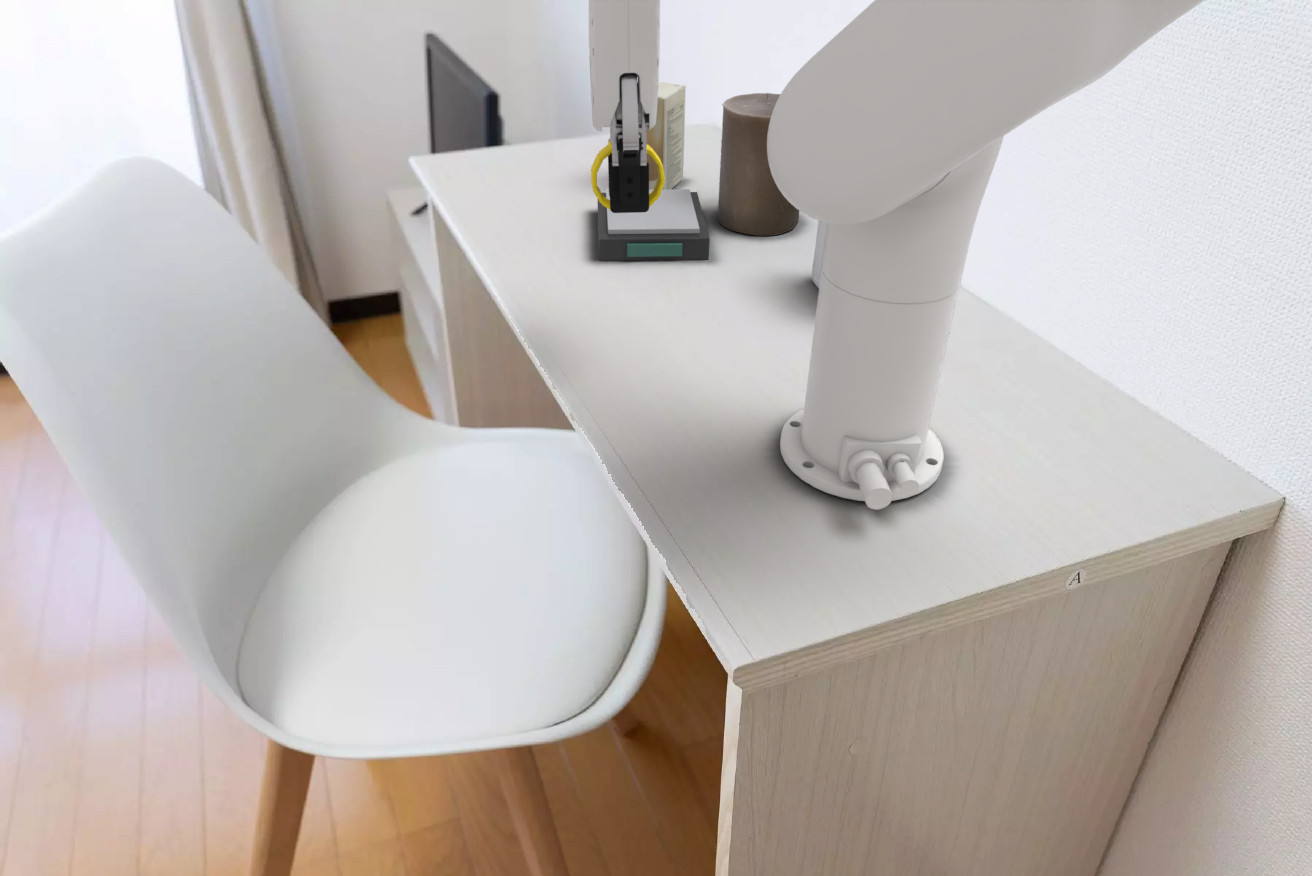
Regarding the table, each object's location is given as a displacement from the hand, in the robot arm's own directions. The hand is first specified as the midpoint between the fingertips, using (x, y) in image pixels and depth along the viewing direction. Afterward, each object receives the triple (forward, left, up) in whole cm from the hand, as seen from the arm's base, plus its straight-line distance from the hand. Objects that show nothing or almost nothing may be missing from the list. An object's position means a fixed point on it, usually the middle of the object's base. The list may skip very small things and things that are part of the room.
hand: (628, 202), depth 81 cm
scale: (+27, -4, -14) cm, 31 cm away
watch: (0, 0, -1) cm, 1 cm away
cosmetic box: (+43, -6, -15) cm, 46 cm away
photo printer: (+10, -23, -15) cm, 29 cm away
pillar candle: (+31, -17, -15) cm, 38 cm away
